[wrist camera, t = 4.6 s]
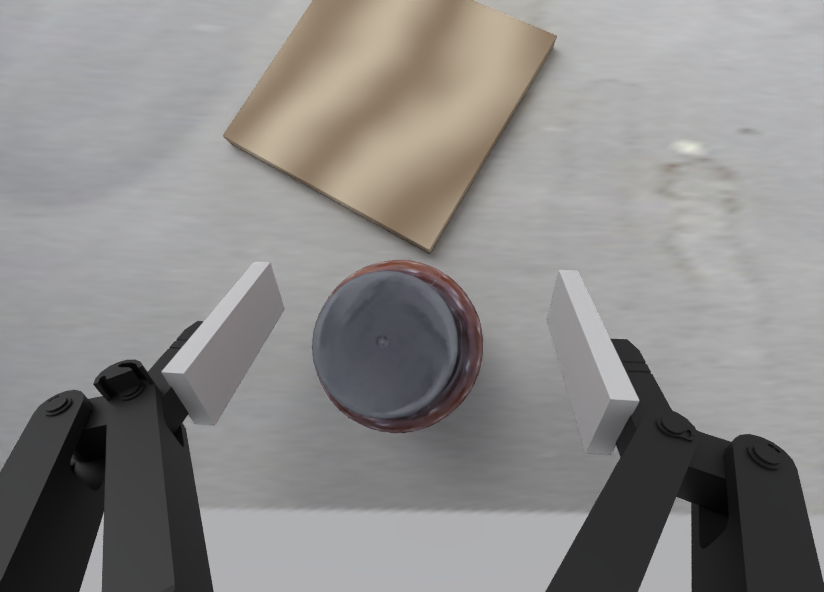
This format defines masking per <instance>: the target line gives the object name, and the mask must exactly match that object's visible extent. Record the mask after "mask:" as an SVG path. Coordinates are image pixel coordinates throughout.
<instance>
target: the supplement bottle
mask: <svg viewBox="0 0 824 592" xmlns="http://www.w3.org/2000/svg"><path fill="white" fill-rule="evenodd" d="M312 350H313V361H314V365H315V368H316V371H317V374H318V377H319V380H320V382H321V384H322V386H323V388H324V390H325V392H326V394H327V395H328V397H329V398H330V400H331V401H332V402H333V403H334V404H335V406H336V407H337V408H338V409H339V410H340V411H341V412H343V413H344V414H345V415H346V416H348V418H350V419H352V420H354V421H356V422H358V423H359V424H362V425H364V426H366V427H368V428H371V429H375V430H379V431H382V432H390V433H406V432H412V431H417V430H420V429H423V428H426V427H429V426H431V425H433V424H436V423H438V422H439V421H441V420H442V419H444V418H445V417H447V416H448V415H449V414H450V413H452V412H453V411H454V410H455V409H456V408H457V407H458V406H459V405H460V404H461V403H462V402H463V401H464V399H465V398H466V397H467V395H468V394H469V393H470V391H471V389H472V387H473V386H474V384H475V381H476V378H477V376H478V373H479V370H480V366H481V360H482V353H483V336H482V329H481V324H480V320H479V317H478V315H477V312H476V310H475V308H474V306H473V304H472V302H471V301H470V299H469V298H468V296H467V294H466V293H465V292H464V291H463V289H462V288H461V287H460V286H459V285H458V284H457V283H456V282H455V281H454V280H453V279H451V278H450V277H449V276H447V275H446V274H444V273H443V272H441V271H439V270H437V269H436V268H433V267H431V266H428V265H426V264H423V263H418V262H414V261H409V260H392V261H384V262H379V263H376V264H372V265H369V266H367V267H364V268H362V269H360V270H359V271H357V272H355V273H354V274H352V275H351V276H349V277H348V278H346V279H345V280H344V281H343V282H342V283H341V284H340V285H338V286H337V288H336V289H335V290H334V291H333V292H332V294H331V295H330V296H329V297H328V299H327V301H326V302H325V304H324V306H323V308H322V310H321V312H320V314H319V316H318V319H317V321H316V324H315V328H314V332H313V342H312Z"/></svg>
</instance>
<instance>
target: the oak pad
mask: <svg viewBox="0 0 824 592" xmlns="http://www.w3.org/2000/svg"><path fill="white" fill-rule="evenodd" d="M556 37H557V36H556V35H554V34H551V33H549V32H547V31H544V30H542V29H540V28H537V27H535V26H532V25H530V24H528V23H525V22H523V21H521V20H518V19H516V18H513V17H511V16H509V15H506V14H504V13H502V12H499V11H497V10H494V9H492V8H490V7H487V6H485V5H483V4H480V3H478V2H475V1H473V0H313V1H312V2H311V4H310V5H309V7H308V8H307V10H306V11H305V13H304V14H303V16H302V17H301V19H300V20H299V22H298V23H297V25H296V26H295V28H294V29H293V31H292V32H291V34H290V35H289V37H288V39H287V40H286V42H285V43H284V45H283V46H282V48H281V49H280V51H279V52H278V54H277V55H276V57H275V58H274V60H273V61H272V63H271V64H270V66H269V67H268V69H267V70H266V72H265V73H264V75H263V76H262V78H261V79H260V81H259V82H258V84H257V85H256V87H255V88H254V90H253V91H252V93H251V94H250V96H249V97H248V99H247V100H246V102H245V103H244V105H243V106H242V108H241V109H240V111H239V112H238V114H237V115H236V117H235V118H234V120H233V121H232V123H231V124H230V126H229V127H228V129H227V130H226V132H225V133H224V135H223V137H224V138H225V139H227V140H228V141H229V142H230V143H231V144H233V145H235V146H237V147H238V148H240V149H242V150H244V151H246V152H247V153H249V154H251V155H253V156H255V157H257V158H258V159H260V160H262V161H264V162H266V163H267V164H269V165H271V166H273V167H275V168H276V169H278V170H280V171H282V172H284V173H285V174H287V175H289V176H291V177H293V178H294V179H296V180H298V181H300V182H302V183H304V184H305V185H307V186H309V187H311V188H313V189H314V190H316V191H318V192H320V193H322V194H323V195H325V196H327V197H329V198H331V199H332V200H334V201H336V202H338V203H340V204H342V205H343V206H345V207H347V208H349V209H351V210H352V211H354V212H356V213H358V214H360V215H361V216H363V217H365V218H367V219H369V220H370V221H372V222H374V223H376V224H378V225H379V226H381V227H383V228H385V229H387V230H389V231H390V232H392V233H394V234H396V235H398V236H399V237H401V238H403V239H405V240H407V241H408V242H410V243H412V244H414V245H416V246H417V247H419V248H421V249H423V250H425V251H427V252H428V253H431V251H432V249H433V248H434V246H435V244H436V243H437V241H438V239H439V238H440V236H441V234H442V232H443V231H444V229H445V227H446V226H447V224H448V222H449V221H450V219H451V217H452V216H453V214H454V212H455V211H456V209H457V207H458V206H459V204H460V202H461V201H462V199H463V197H464V196H465V194H466V192H467V191H468V189H469V187H470V186H471V184H472V182H473V180H474V179H475V177H476V175H477V174H478V172H479V170H480V169H481V167H482V165H483V164H484V162H485V160H486V159H487V157H488V155H489V154H490V152H491V150H492V149H493V147H494V145H495V144H496V142H497V140H498V139H499V137H500V135H501V134H502V132H503V130H504V128H505V127H506V125H507V123H508V122H509V120H510V118H511V117H512V115H513V113H514V112H515V110H516V108H517V107H518V105H519V103H520V102H521V100H522V98H523V97H524V95H525V93H526V92H527V90H528V88H529V87H530V85H531V83H532V82H533V80H534V78H535V76H536V75H537V73H538V71H539V70H540V68H541V66H542V65H543V63H544V61H545V60H546V58H547V56H548V55H549V53H550V51H551V50H552V48H553V46H554V43H555V40H556Z"/></svg>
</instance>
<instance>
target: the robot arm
mask: <svg viewBox="0 0 824 592" xmlns="http://www.w3.org/2000/svg"><path fill="white" fill-rule="evenodd" d="M283 311H284V305H283V302H282V299H281V296H280V292H279V289H278V286H277V283H276V279H275V276H274V273H273V270H272V266H271V263H270V262H254V263H253V264H252V265H251V266H250V267H249V268H248V270H247V271H246V272H245V273H244V274H243V276H242V277H241V278H240V279H239V280H238V282H237V283H236V284H235V285H234V286H233V287H232V289H231V290H230V291H229V292H228V293H227V295H226V296H225V297H224V298H223V299H222V300H221V302H220V303H219V304H218V305H217V306H216V308H215V309H214V310H213V311H212V312H211V313H210V315H209V316H208V317H207V318H206V319H205V321H197V322H196V323H194V324H193V325H191V326H190V327H188V328H187V329H185V330H184V331H183V333H182V334H181V335H180V336H179V337H178V338H177V341H175V342H174V343H173V344H172V345H171V346H170V349H168V350H167V351H166V352H165V353H164V354H163V355H162V356H161V357H160V359H159V360H158V361H157V362H156V363H155V364H154V365H153V367H152V368H151V369H150V370H149V371H148V372H147V371H146V369H145V368H144V366H143V365H142V363H141V362H140V361H137V360H125V361H121V362H118V363H116V364H113V365H111V366H109V367H108V368H106V369H105V370H104V371H102V372H101V373H100V374H99V375H98V376H97V377H96V379H95V381H94V384H93V385H94V386H95V387H96V388H97V389H98V391H99V392H100V393H101V394H102V395H103V396H101V397H96V398H91V399H87V397H86V396H85V395H84V394H83V393H82V392H81V391H78V390H71V391H65V392H62V393H60V394H57V395H55V396H53V397H51V398H50V399H48V400H46V401H45V402H44V403H43V404H41V405H40V406H39V407H38V408H37V410H36V411H35V412H34V414H33V415H32V417H31V419H30V421H29V422H28V424H27V426H26V428H25V429H24V431H23V433H22V435H21V436H20V438H19V440H18V442H17V443H16V445H15V447H14V449H13V450H12V452H11V454H10V456H9V458H8V459H7V461H6V463H5V465H4V466H3V468H2V470H1V472H0V592H79V591H80V588H81V584H82V581H83V577H84V575H85V571H86V568H87V564H88V561H89V558H90V555H91V552H92V548H93V545H94V542H95V539H96V536H97V532H98V529H99V526H100V523H101V519H102V516H103V513H104V536H103V571H102V592H213V586H212V580H211V574H210V568H209V563H208V557H207V551H206V545H205V539H204V533H203V527H202V521H201V516H200V509H199V504H198V498H197V492H196V486H195V480H194V474H193V468H192V463H191V457H190V451H189V445H188V439H187V433H186V428H185V427H184V425H183V423H182V422H183V421H184V420H185V418H186V417H187V415H188V414H189V416H190V417H191V419H192V420H193V422H194V424H202V425H215V424H216V423H217V421H218V419H219V418H220V416H221V414H222V413H223V411H224V409H225V408H226V406H227V404H228V403H229V401H230V399H231V398H232V396H233V394H234V393H235V391H236V389H237V388H238V386H239V384H240V383H241V381H242V379H243V378H244V376H245V374H246V373H247V371H248V369H249V368H250V366H251V364H252V363H253V361H254V359H255V358H256V356H257V354H258V353H259V351H260V349H261V348H262V346H263V344H264V343H265V341H266V339H267V338H268V336H269V334H270V333H271V331H272V329H273V328H274V326H275V324H276V323H277V321H278V319H279V318H280V316H281V314H282V313H283ZM547 323H548V326H549V330H550V333H551V336H552V340H553V343H554V347H555V350H556V354H557V357H558V360H559V364H560V367H561V371H562V374H563V377H564V381H565V384H566V388H567V391H568V395H569V398H570V401H571V405H572V408H573V412H574V415H575V418H576V422H577V425H578V429H579V432H580V436H581V439H582V442H583V446H584V449H585V453H590V454H603V455H611V453H612V451H613V450H614V448H615V446H617V448H618V451H619V454H620V457H621V458H620V460H619V461H618V463H617V465H616V467H615V468H614V470H613V472H612V474H611V476H610V477H609V479H608V481H607V483H606V485H605V486H604V488H603V490H602V492H601V493H600V495H599V497H598V499H597V501H596V502H595V504H594V506H593V508H592V509H591V511H590V513H589V515H588V517H587V518H586V520H585V522H584V524H583V526H582V527H581V529H580V531H579V533H578V534H577V536H576V538H575V540H574V542H573V543H572V545H571V547H570V549H569V551H568V552H567V554H566V556H565V558H564V559H563V561H562V563H561V565H560V567H559V568H558V570H557V572H556V574H555V576H554V577H553V579H552V581H551V583H550V585H549V586H548V588H547V590H546V592H638V590H639V587H640V585H641V582H642V580H643V577H644V575H645V572H646V570H647V567H648V565H649V563H650V560H651V558H652V555H653V553H654V550H655V548H656V545H657V543H658V540H659V538H660V535H661V533H662V530H663V528H664V526H665V523H666V521H667V518H668V516H669V513H670V511H671V508H672V506H673V503H674V501H675V498H676V497H678V498H681V499H684V500H686V501H689V502H691V521H692V523H691V526H692V592H824V582H823V578H822V574H821V570H820V565H819V561H818V557H817V553H816V548H815V544H814V539H813V536H812V531H811V526H810V522H809V518H808V514H807V509H806V505H805V501H804V496H803V492H802V488H801V483H800V479H799V475H798V471H797V468H796V466H795V464H794V462H793V460H792V459H791V458H790V456H789V455H788V454H787V453H786V452H785V451H784V450H783V449H781V448H780V447H778V446H777V445H776V444H774V443H773V442H771V441H769V440H766V439H764V438H762V437H759V436H755V435H751V434H745V435H739V436H738V437H736V438H735V439H734V440H733V441H732V442H730V441H727V440H724V439H720V438H717V437H714V436H711V435H708V434H705V433H702V432H699V431H697V430H696V429H695V427H694V426H693V425H692V424H691V423H690V422H689V421H688V419H686V418H685V417H683V416H682V415H680V414H679V413H677V412H674V411H672V409H671V408H670V406H669V404H668V402H667V400H666V399H665V397H664V395H663V393H662V391H661V389H660V388H659V386H658V384H657V382H656V380H655V378H654V377H653V375H652V374H651V371H650V369H649V367H648V366H647V364H645V360H644V358H643V356H642V355H641V353H640V351H639V350H638V349H637V348H636V347H635V346H634V345H633V344H632V343H631V342H629V341H628V340H627V339H610V337H609V335H608V333H607V331H606V329H605V327H604V325H603V323H602V321H601V318H600V316H599V314H598V312H597V310H596V308H595V306H594V304H593V302H592V299H591V297H590V295H589V293H588V291H587V289H586V287H585V285H584V283H583V280H582V278H581V276H580V274H579V272H578V270H559V271H558V275H557V279H556V283H555V287H554V292H553V296H552V300H551V304H550V308H549V312H548V316H547Z"/></svg>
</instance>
